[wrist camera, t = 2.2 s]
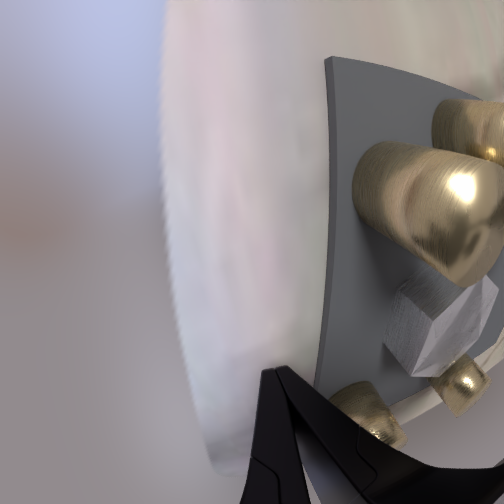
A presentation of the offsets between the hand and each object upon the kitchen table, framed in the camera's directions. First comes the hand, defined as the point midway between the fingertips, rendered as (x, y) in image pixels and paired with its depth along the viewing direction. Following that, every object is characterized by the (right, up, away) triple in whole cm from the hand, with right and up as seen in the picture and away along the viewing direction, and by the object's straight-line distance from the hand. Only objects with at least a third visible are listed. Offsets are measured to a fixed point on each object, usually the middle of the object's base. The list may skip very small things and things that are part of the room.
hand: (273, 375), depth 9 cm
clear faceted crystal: (+7, +2, +3) cm, 8 cm away
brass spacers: (+11, +3, +3) cm, 11 cm away
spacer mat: (+11, +3, +3) cm, 12 cm away
